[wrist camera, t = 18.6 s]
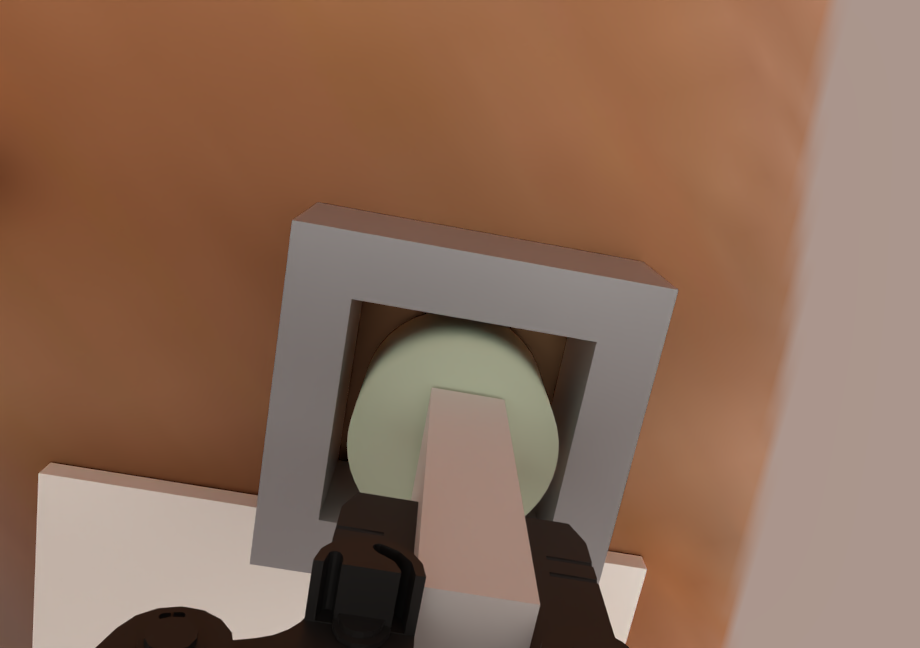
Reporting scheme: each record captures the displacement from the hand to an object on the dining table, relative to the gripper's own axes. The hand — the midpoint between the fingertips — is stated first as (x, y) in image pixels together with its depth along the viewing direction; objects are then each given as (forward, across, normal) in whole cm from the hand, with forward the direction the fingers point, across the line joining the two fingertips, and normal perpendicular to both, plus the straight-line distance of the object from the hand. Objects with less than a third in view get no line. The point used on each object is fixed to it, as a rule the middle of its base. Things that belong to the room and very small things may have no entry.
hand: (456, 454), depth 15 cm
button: (+3, 0, 0) cm, 3 cm away
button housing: (+4, 0, 0) cm, 4 cm away
